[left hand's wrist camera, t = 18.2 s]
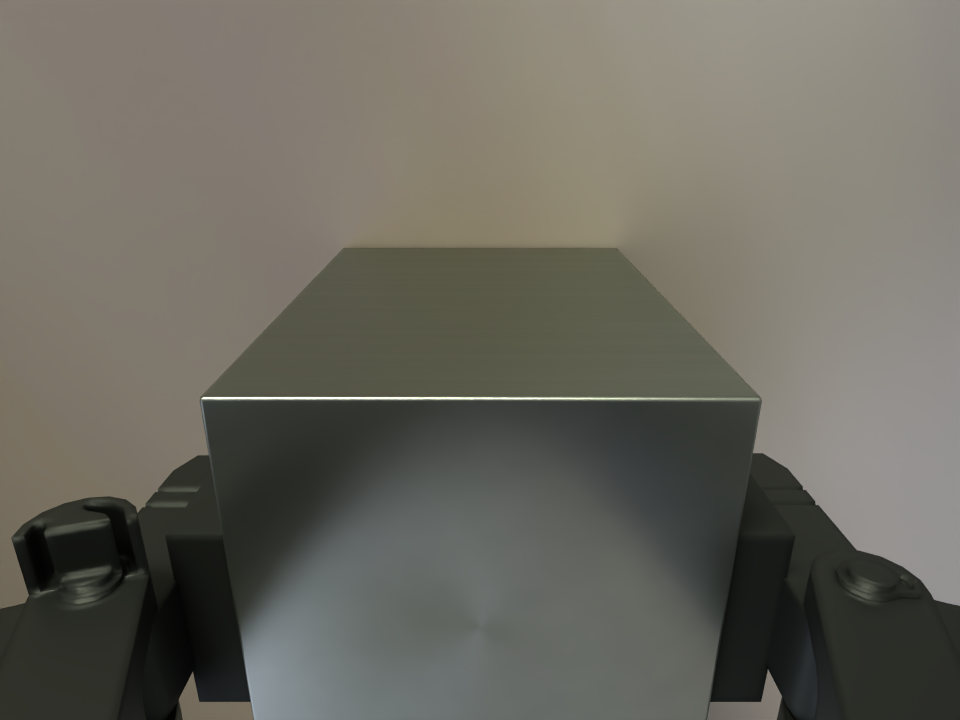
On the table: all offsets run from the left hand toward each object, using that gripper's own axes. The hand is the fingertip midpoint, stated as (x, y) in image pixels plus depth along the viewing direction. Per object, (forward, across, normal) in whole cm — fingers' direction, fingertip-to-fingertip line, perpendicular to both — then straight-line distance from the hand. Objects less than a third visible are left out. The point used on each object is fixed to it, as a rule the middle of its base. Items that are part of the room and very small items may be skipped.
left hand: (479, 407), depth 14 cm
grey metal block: (+1, 0, 0) cm, 1 cm away
